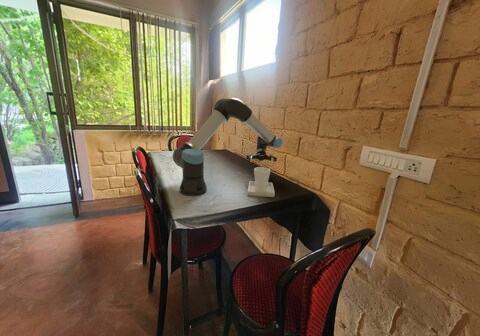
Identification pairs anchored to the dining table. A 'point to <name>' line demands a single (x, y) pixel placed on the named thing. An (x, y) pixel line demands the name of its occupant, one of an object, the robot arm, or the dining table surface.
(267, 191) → the tray
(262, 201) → the dining table surface
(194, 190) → the robot arm
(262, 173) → the foam cup
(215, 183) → the dining table surface
